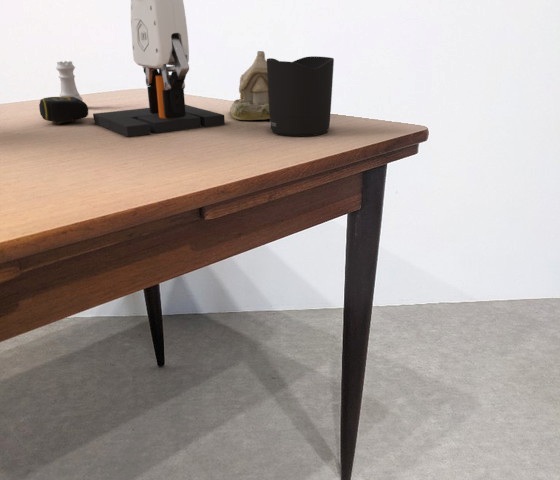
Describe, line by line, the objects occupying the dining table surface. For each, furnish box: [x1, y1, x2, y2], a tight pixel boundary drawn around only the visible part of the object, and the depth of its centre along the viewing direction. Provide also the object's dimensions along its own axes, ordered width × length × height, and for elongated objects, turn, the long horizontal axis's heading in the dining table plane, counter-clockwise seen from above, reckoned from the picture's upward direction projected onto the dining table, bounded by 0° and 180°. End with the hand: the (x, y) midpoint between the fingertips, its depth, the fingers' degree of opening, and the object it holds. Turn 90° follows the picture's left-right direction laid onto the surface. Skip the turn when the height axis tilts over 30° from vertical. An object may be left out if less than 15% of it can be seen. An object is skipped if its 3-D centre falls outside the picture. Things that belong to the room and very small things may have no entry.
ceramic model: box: [229, 50, 270, 121], centre depth 101 cm, size 14×11×10 cm
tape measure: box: [38, 96, 89, 125], centre depth 97 cm, size 7×7×4 cm
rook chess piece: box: [55, 60, 84, 102], centre depth 109 cm, size 4×4×8 cm
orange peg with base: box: [137, 74, 202, 134], centre depth 91 cm, size 8×6×8 cm
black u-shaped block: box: [92, 104, 226, 138], centre depth 95 cm, size 16×14×2 cm
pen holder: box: [266, 55, 335, 137], centre depth 87 cm, size 9×9×10 cm
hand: (167, 113), depth 92 cm, fingers open, 4 cm apart
